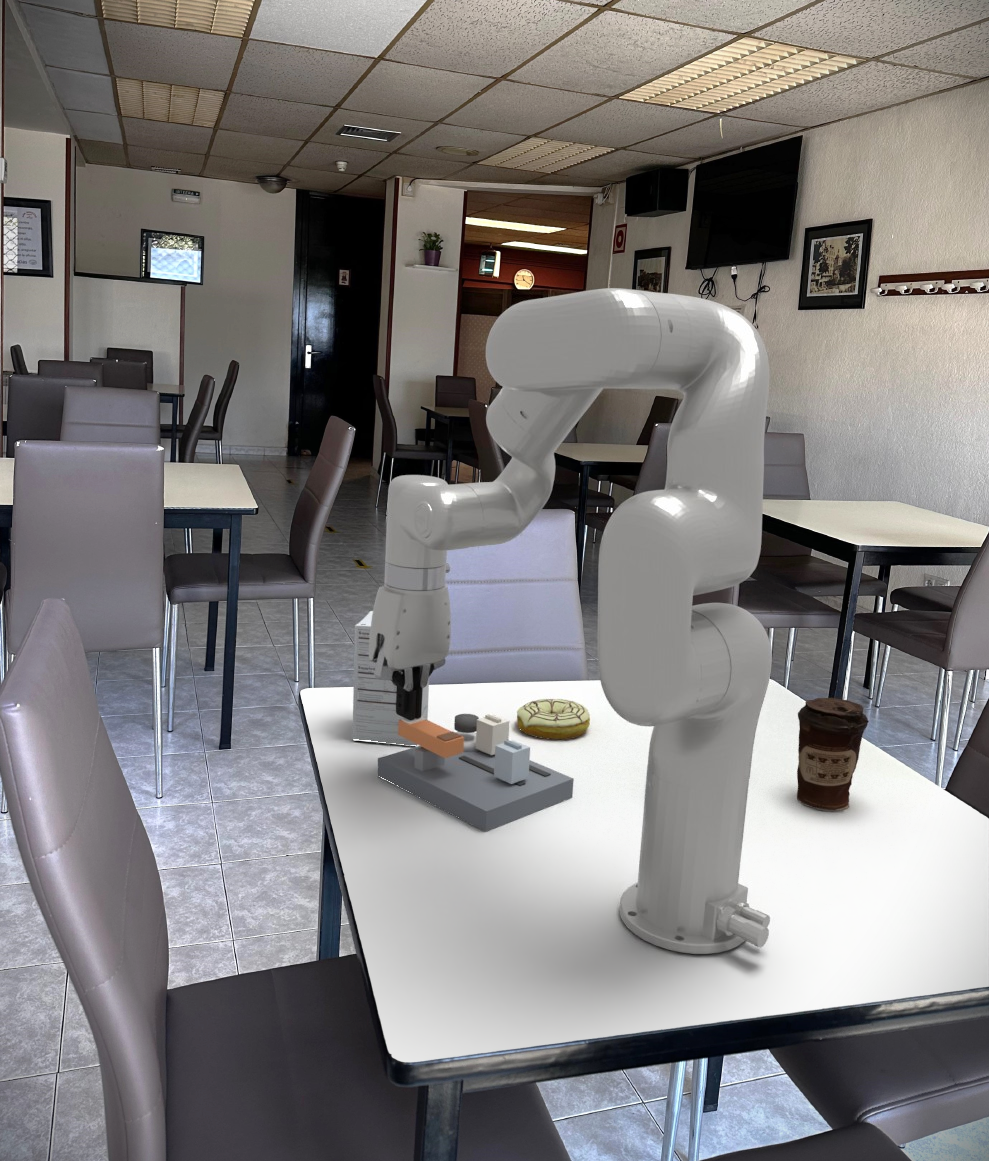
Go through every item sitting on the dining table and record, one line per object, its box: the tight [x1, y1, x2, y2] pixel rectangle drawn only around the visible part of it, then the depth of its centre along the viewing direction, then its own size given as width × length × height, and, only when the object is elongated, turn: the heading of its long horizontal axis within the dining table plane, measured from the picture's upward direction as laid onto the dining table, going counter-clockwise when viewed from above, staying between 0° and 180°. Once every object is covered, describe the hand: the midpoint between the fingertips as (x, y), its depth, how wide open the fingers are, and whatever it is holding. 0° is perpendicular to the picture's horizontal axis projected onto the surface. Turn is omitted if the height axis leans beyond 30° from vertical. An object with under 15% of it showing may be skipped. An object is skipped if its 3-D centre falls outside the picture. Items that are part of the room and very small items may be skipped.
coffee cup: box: [796, 697, 870, 812], centre depth 127 cm, size 9×8×13 cm
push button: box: [453, 713, 480, 733], centre depth 135 cm, size 3×3×2 cm
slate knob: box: [494, 739, 531, 784], centre depth 124 cm, size 3×3×4 cm
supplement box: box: [352, 610, 430, 746], centre depth 143 cm, size 10×9×17 cm
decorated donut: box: [516, 698, 591, 740], centre depth 150 cm, size 10×11×4 cm
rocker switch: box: [398, 717, 464, 758], centre depth 127 cm, size 9×3×2 cm, turn 45°
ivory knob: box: [475, 714, 510, 755], centre depth 133 cm, size 3×3×4 cm
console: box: [377, 731, 575, 832], centre depth 128 cm, size 20×15×5 cm
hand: (408, 715), depth 129 cm, fingers closed
